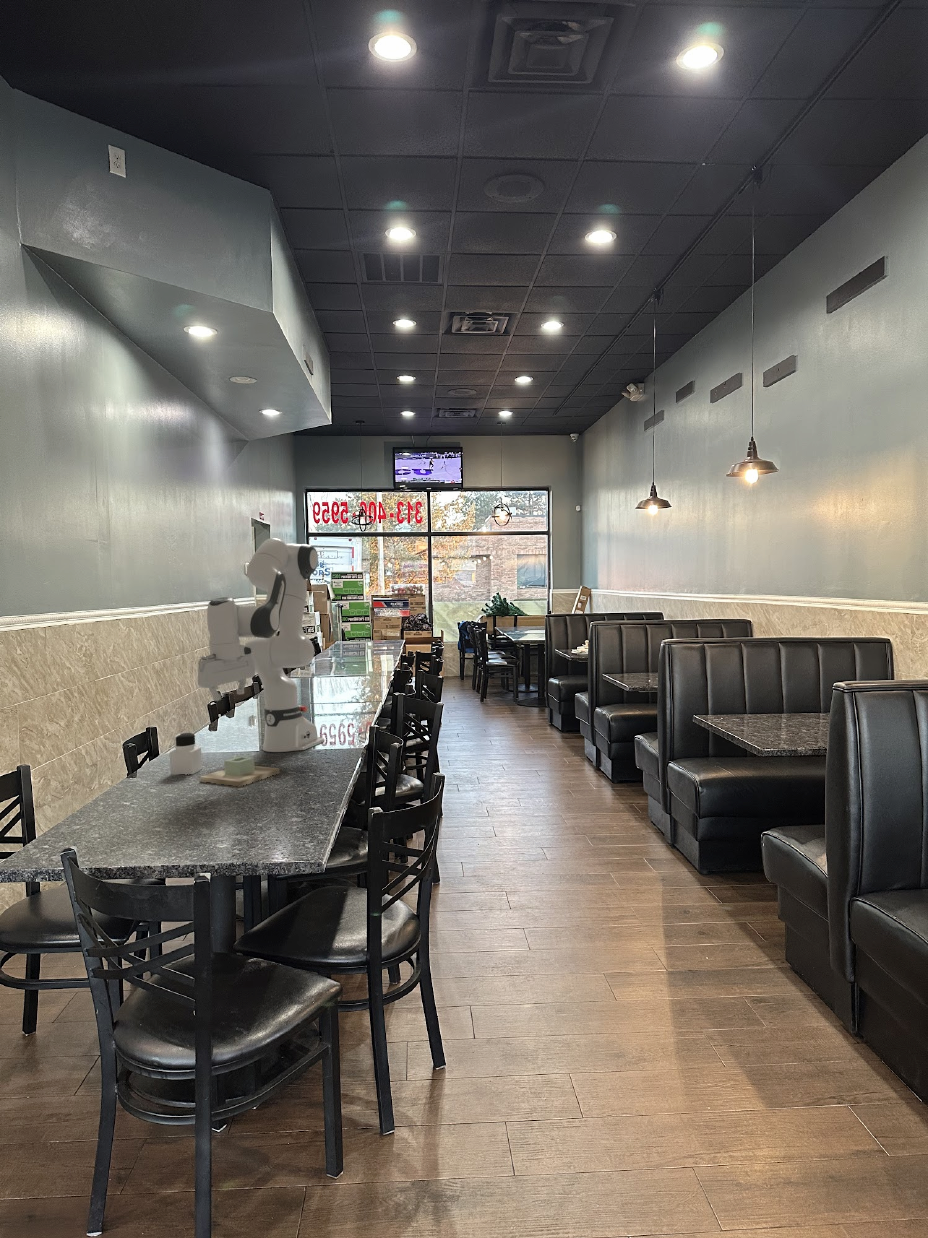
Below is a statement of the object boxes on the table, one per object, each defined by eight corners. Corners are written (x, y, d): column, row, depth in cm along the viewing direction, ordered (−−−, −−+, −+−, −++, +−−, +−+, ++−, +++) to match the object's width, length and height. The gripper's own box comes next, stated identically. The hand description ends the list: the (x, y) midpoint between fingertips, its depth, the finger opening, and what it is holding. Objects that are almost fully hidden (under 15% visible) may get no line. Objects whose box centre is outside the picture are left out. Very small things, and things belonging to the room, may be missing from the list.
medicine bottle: (202, 769, 248) (200, 731, 248) (192, 775, 241) (190, 736, 241) (180, 769, 249) (178, 731, 248) (170, 775, 242) (167, 736, 241)
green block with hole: (240, 769, 239) (239, 756, 239) (254, 771, 236) (254, 757, 236) (225, 774, 234) (224, 760, 234) (239, 776, 231) (239, 762, 231)
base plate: (240, 769, 246) (240, 754, 246) (279, 773, 238) (278, 758, 238) (200, 781, 232) (199, 766, 232) (239, 787, 224) (238, 771, 224)
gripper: (206, 657, 227) (210, 704, 228) (256, 647, 245) (260, 691, 246) (190, 657, 230) (194, 703, 231) (242, 647, 248) (245, 690, 249)
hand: (229, 697), depth 239 cm, fingers open, 8 cm apart
